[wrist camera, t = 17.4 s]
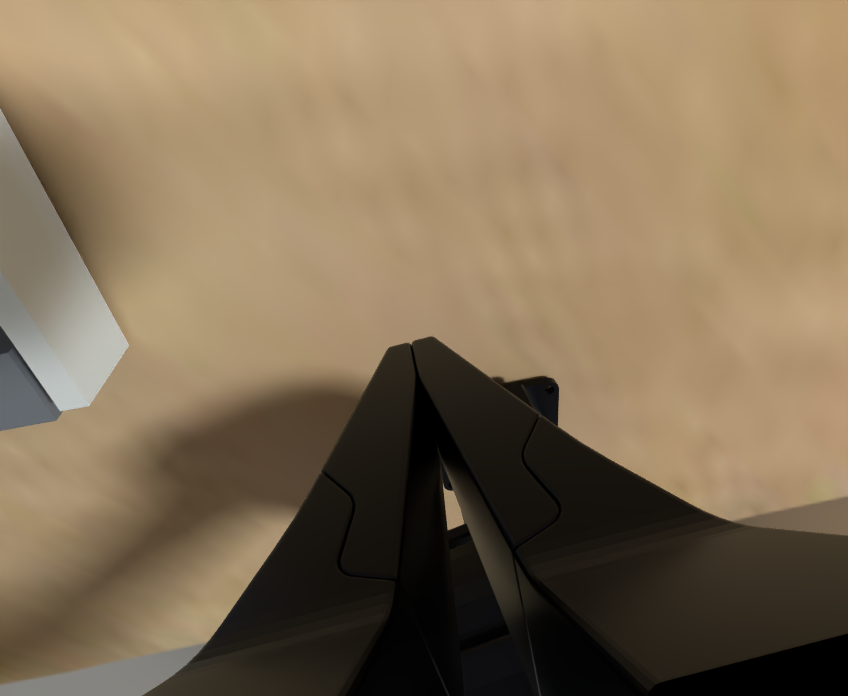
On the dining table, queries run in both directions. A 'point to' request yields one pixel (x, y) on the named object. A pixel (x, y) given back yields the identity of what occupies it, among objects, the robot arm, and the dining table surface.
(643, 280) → the dining table surface
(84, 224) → the dining table surface
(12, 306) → the light grey flat bar
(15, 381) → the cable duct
